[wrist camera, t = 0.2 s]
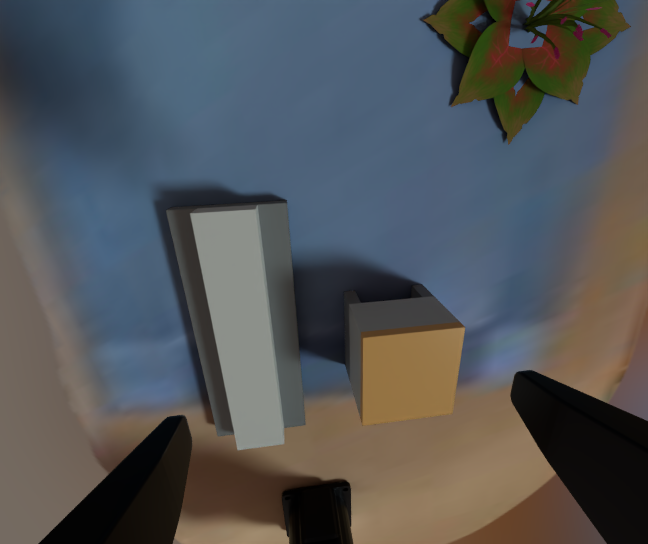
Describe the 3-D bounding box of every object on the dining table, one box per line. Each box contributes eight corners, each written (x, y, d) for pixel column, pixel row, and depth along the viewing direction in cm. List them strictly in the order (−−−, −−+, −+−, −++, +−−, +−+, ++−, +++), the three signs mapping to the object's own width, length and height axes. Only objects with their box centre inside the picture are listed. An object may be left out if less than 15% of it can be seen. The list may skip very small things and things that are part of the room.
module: (415, 356, 26) (452, 413, 20) (345, 364, 25) (362, 425, 20) (422, 284, 23) (465, 327, 18) (343, 291, 23) (363, 337, 17)
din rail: (304, 415, 27) (306, 440, 24) (220, 426, 26) (213, 453, 24) (286, 200, 20) (287, 207, 18) (171, 207, 19) (156, 215, 17)
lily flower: (381, 23, 17) (413, -16, 13) (561, -187, 15) (669, -314, 11) (495, 178, 22) (546, 186, 17) (650, 31, 19) (753, -1, 15)
